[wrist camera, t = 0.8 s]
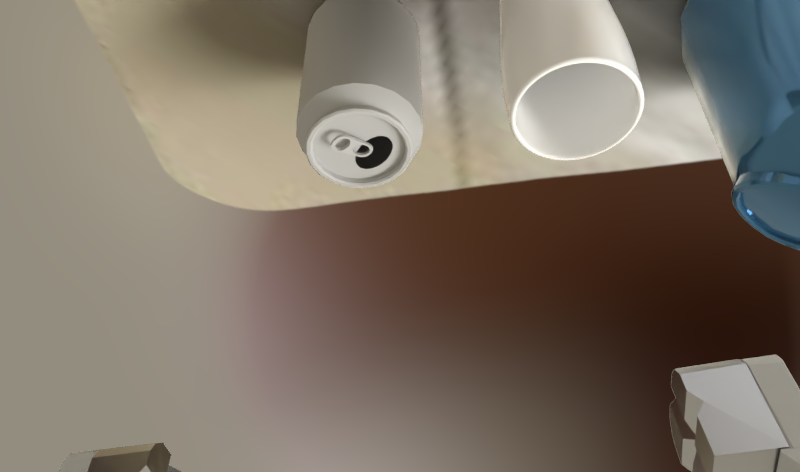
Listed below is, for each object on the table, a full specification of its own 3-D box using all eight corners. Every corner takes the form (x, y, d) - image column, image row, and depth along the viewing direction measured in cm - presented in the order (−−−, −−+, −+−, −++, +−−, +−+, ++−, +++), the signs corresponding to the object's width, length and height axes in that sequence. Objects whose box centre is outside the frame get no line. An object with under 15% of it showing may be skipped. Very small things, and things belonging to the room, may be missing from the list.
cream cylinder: (597, -10, 49) (648, 149, 39) (493, 14, 50) (518, 173, 41) (589, -111, 44) (645, 42, 34) (474, -82, 45) (497, 74, 36)
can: (380, 92, 55) (379, 214, 48) (289, 45, 52) (270, 167, 44) (440, 17, 51) (450, 139, 43) (343, -40, 47) (334, 81, 40)
